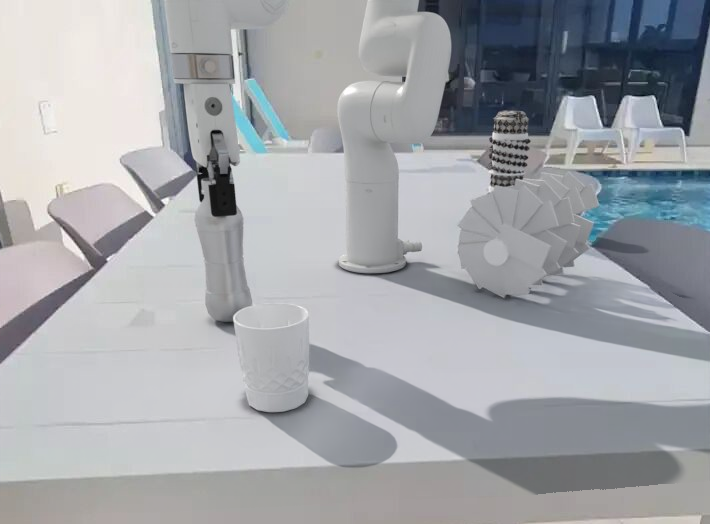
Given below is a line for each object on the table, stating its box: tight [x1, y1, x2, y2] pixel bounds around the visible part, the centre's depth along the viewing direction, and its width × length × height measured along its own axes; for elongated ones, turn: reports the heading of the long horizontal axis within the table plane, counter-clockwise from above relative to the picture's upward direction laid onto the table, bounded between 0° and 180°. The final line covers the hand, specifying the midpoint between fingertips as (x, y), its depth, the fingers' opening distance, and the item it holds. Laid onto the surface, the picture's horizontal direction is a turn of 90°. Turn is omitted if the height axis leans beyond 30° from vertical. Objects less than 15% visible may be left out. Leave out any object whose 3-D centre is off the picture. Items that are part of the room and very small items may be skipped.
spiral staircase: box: [457, 170, 601, 299], centre depth 107 cm, size 18×18×25 cm
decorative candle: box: [487, 110, 531, 194], centre depth 147 cm, size 9×9×25 cm
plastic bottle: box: [194, 178, 253, 323], centre depth 90 cm, size 6×7×20 cm
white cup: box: [232, 302, 310, 413], centre depth 69 cm, size 8×8×10 cm
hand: (217, 208), depth 87 cm, fingers open, 9 cm apart
